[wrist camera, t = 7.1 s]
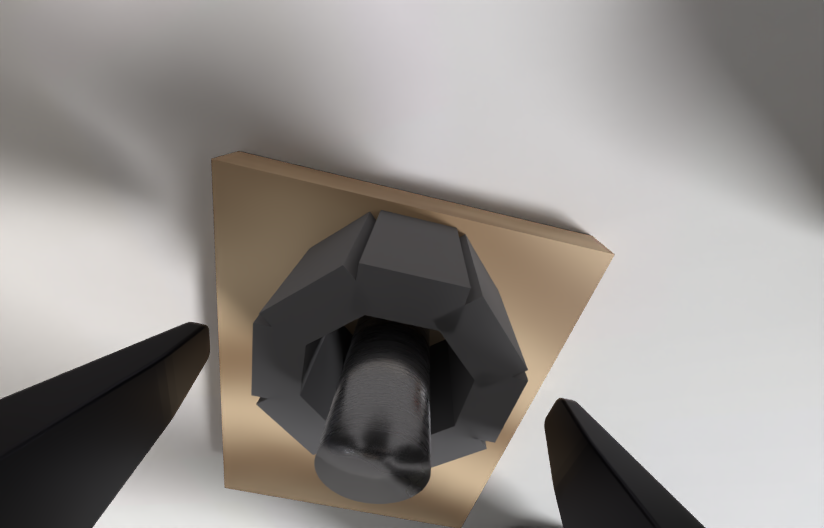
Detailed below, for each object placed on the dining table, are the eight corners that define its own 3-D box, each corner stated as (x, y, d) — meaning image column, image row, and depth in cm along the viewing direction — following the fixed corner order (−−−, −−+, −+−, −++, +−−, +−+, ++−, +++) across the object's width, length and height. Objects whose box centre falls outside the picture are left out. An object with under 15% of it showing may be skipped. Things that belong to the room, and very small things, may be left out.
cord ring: (460, 391, 13) (471, 487, 10) (294, 358, 12) (250, 446, 9) (522, 243, 10) (566, 310, 7) (311, 192, 10) (254, 239, 6)
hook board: (458, 497, 18) (460, 528, 17) (240, 457, 18) (224, 487, 16) (592, 236, 11) (614, 254, 10) (238, 151, 11) (211, 158, 9)
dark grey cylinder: (420, 338, 12) (415, 512, 7) (358, 325, 12) (309, 493, 7) (436, 286, 11) (444, 444, 6) (369, 271, 11) (320, 420, 6)
